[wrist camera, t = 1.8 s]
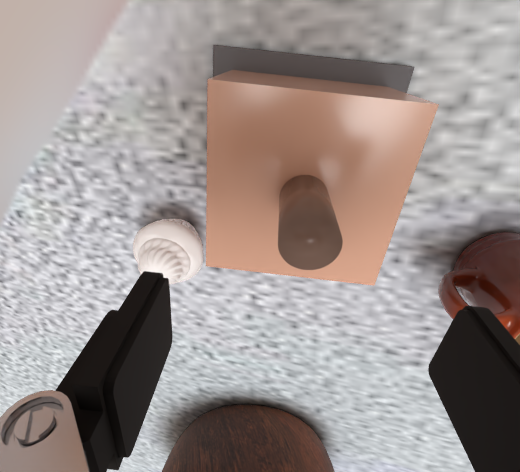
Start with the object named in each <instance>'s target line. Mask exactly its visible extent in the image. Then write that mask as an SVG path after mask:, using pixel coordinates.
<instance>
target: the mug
mask: <svg viewBox="0 0 520 472" xmlns="http://www.w3.org/2000/svg"><path fill="white" fill-rule="evenodd" d="M456 288H460V290H461V292H462V294H463V296H464V297H465V298H466V300H468V302H469V303H470V304H471V306H476V307H485V308H488V309H489V310H491V311H492V313H493V314H494V315H495V316H496V317H497V319H498V320H499V321H500V322H501V323H502V325H503V326H504V327H505V328H506V329H507V330H508V332H509V333H510V334H511V335H512V336H513V338H514V339H515V340H516V341H517V342H518V344H519V345H520V234H518V233H512V232H502V233H495V234H491V235H488V236H485V237H483V238H481V239H479V240H477V241H475V242H473V243H472V244H470V245H469V246H468V247H466V248H465V249H464V251H463V252H462V253H461V254H460V256H459V257H458V259H457V261H456V264H455V267H454V271H452V272H449V273H447V274H446V275H445V276H444V277H443V278H442V280H441V282H440V284H439V289H438V293H439V297H440V300H441V303H442V305H443V307H444V308H445V310H446V312H447V313H448V314H449V315H450V317H451V318H452V319H454V318H455V316H456V314H457V312H458V311H459V310H462V309H463V308H464V307H465V306H469V305H468V304H467V303H466V302H465V301H464V300H463V299H462V297H461V296H460V294H459V293H458V291H457V289H456Z"/></svg>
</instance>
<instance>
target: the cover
mask: <svg viewBox="0 0 520 472" xmlns="http://www.w3.org/2000/svg"><path fill="white" fill-rule="evenodd" d="M438 105H439V104H436V103H433V102H430V101H427V100H424V99H421V98H419V97H416V96H413V95H410V94H407V93H404V92H402V91H399V90H396V89H393V88H390V87H385V86H376V85H367V84H358V83H349V82H340V81H331V80H321V79H312V78H303V77H294V76H285V75H276V74H267V73H257V72H248V71H239V70H231V71H228V72H225V73H223V74H220V75H217V76H215V77H212V78H209V79H208V90H207V215H206V266H210V267H219V268H228V269H236V270H245V271H254V272H262V273H271V274H280V275H288V276H297V277H306V278H314V279H323V280H332V281H340V282H349V283H358V284H366V285H375V282H376V279H377V276H378V273H379V271H380V268H381V265H382V262H383V259H384V257H385V254H386V251H387V248H388V245H389V243H390V240H391V237H392V234H393V231H394V229H395V226H396V223H397V220H398V217H399V215H400V212H401V209H402V206H403V203H404V201H405V198H406V195H407V192H408V189H409V186H410V184H411V181H412V178H413V175H414V172H415V170H416V167H417V164H418V161H419V158H420V156H421V153H422V150H423V147H424V144H425V142H426V139H427V136H428V133H429V130H430V128H431V125H432V122H433V119H434V116H435V114H436V111H437V108H438Z"/></svg>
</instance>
